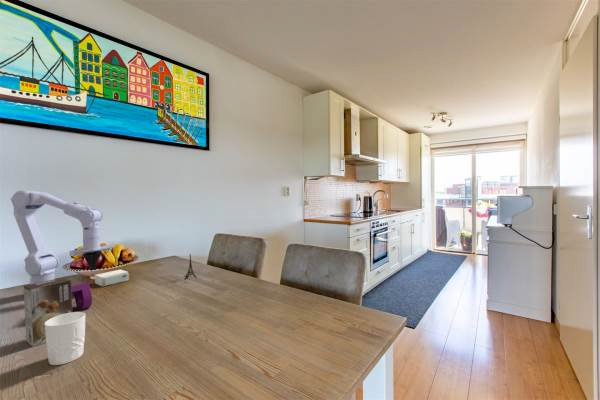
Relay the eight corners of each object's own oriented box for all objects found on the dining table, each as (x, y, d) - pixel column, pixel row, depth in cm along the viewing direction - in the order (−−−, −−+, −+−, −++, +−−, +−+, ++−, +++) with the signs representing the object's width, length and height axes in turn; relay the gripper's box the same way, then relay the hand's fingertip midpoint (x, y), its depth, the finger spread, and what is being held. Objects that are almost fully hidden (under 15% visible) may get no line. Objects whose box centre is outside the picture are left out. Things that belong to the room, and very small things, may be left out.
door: (101, 286, 123) (101, 278, 123) (128, 280, 132) (127, 272, 132) (102, 286, 123) (102, 278, 123) (129, 280, 132) (129, 272, 131)
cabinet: (94, 283, 128) (94, 274, 128) (120, 277, 137) (120, 269, 137) (102, 286, 124) (102, 277, 124) (128, 279, 133) (128, 271, 133)
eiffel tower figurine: (191, 273, 144) (191, 248, 144) (208, 275, 141) (207, 249, 141) (170, 282, 130) (170, 254, 130) (188, 284, 127) (187, 255, 127)
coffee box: (65, 327, 85) (64, 276, 84) (74, 333, 81) (72, 279, 81) (24, 341, 77) (23, 285, 77) (32, 347, 73) (30, 289, 73)
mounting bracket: (44, 326, 99) (60, 314, 90) (39, 303, 100) (55, 290, 92) (75, 316, 107) (93, 304, 98) (71, 295, 108) (88, 282, 100)
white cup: (62, 349, 72) (61, 312, 72) (93, 347, 73) (92, 311, 73) (36, 368, 65) (35, 326, 64) (71, 366, 65) (70, 325, 65)
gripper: (73, 241, 107) (74, 275, 107) (114, 236, 119) (115, 267, 119) (67, 239, 111) (68, 272, 111) (107, 235, 123) (108, 264, 123)
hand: (92, 269), depth 115 cm, fingers closed
